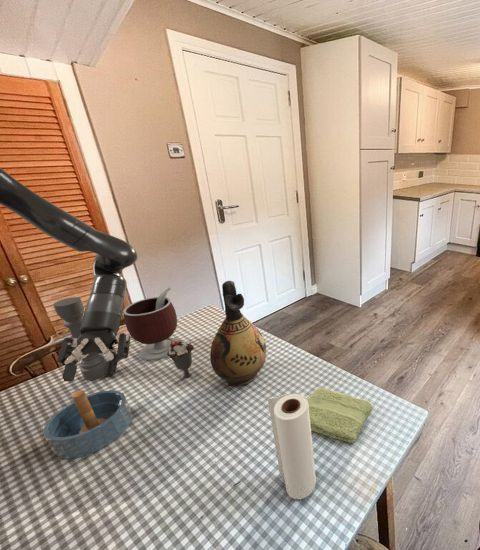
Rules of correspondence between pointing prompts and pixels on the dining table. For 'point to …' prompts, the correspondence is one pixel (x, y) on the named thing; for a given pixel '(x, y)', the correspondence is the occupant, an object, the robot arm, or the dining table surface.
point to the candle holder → (73, 317)
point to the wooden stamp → (85, 411)
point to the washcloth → (337, 414)
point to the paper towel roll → (293, 443)
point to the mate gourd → (152, 325)
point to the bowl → (69, 423)
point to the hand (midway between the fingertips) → (88, 379)
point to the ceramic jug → (237, 343)
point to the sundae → (181, 356)
